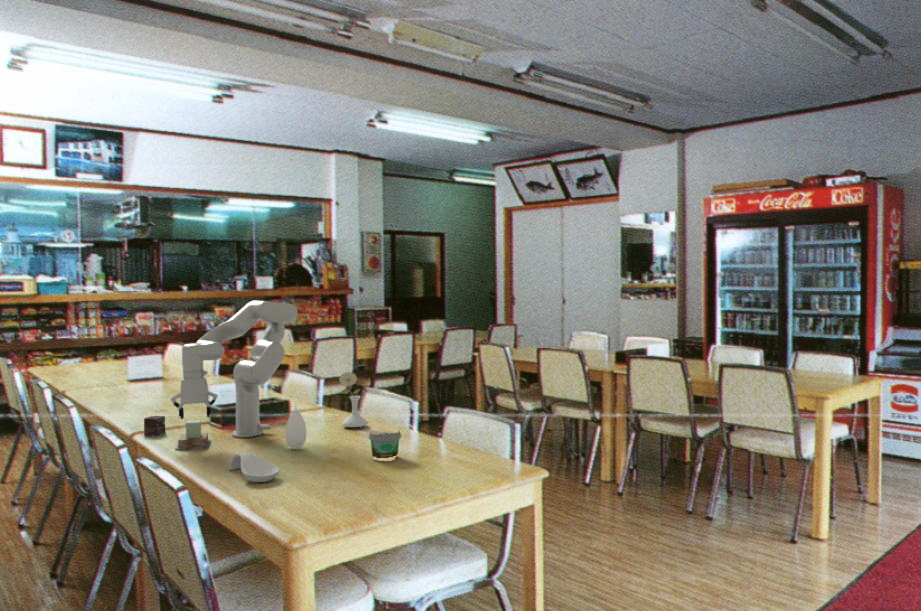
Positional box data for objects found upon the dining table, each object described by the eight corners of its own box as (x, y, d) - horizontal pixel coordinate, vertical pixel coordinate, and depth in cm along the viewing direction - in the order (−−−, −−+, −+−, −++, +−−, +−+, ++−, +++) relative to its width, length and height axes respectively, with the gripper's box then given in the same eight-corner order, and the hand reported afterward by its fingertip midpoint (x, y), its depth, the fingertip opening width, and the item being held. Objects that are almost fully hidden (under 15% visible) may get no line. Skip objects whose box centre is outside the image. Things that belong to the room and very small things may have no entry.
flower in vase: (370, 424, 299) (370, 370, 298) (364, 430, 287) (364, 374, 286) (342, 423, 300) (342, 369, 299) (335, 429, 289) (335, 373, 288)
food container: (374, 464, 235) (374, 436, 235) (368, 460, 240) (368, 433, 240) (406, 460, 241) (406, 433, 240) (399, 456, 246) (400, 429, 246)
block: (201, 434, 262) (201, 419, 262) (199, 437, 258) (199, 422, 257) (187, 435, 261) (187, 420, 261) (186, 438, 256) (185, 423, 256)
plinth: (211, 440, 267) (210, 432, 267) (208, 448, 255) (208, 439, 255) (179, 442, 263) (179, 433, 263) (175, 450, 252) (175, 441, 252)
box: (156, 436, 274) (156, 419, 274) (143, 435, 275) (143, 418, 275) (165, 433, 280) (165, 416, 280) (153, 432, 281) (153, 415, 281)
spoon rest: (286, 480, 216) (286, 459, 216) (254, 489, 207) (254, 466, 207) (248, 466, 232) (248, 446, 232) (217, 473, 223) (217, 453, 223)
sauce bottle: (281, 450, 252) (281, 404, 252) (293, 445, 260) (293, 401, 259) (298, 452, 250) (298, 406, 249) (310, 447, 257) (310, 402, 256)
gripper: (217, 371, 264) (219, 413, 266) (171, 374, 260) (173, 417, 261) (215, 375, 257) (217, 417, 258) (168, 377, 252) (170, 421, 254)
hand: (195, 417), depth 260 cm, fingers open, 9 cm apart
